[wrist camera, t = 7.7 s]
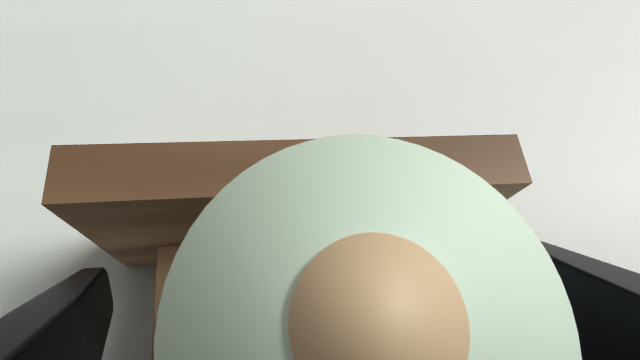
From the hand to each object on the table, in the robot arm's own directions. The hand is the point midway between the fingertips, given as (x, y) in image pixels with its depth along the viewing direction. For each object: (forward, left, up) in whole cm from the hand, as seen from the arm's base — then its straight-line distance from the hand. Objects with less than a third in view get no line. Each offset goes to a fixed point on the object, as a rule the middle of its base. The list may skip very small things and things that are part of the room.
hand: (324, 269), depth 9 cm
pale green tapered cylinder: (-1, -1, -8) cm, 8 cm away
